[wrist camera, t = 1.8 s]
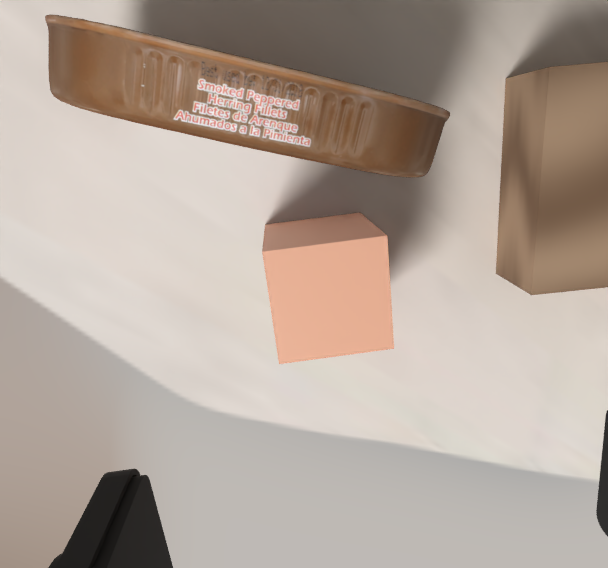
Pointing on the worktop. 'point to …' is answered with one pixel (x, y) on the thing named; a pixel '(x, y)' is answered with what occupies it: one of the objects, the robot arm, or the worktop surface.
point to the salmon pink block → (328, 287)
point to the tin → (239, 99)
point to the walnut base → (555, 180)
